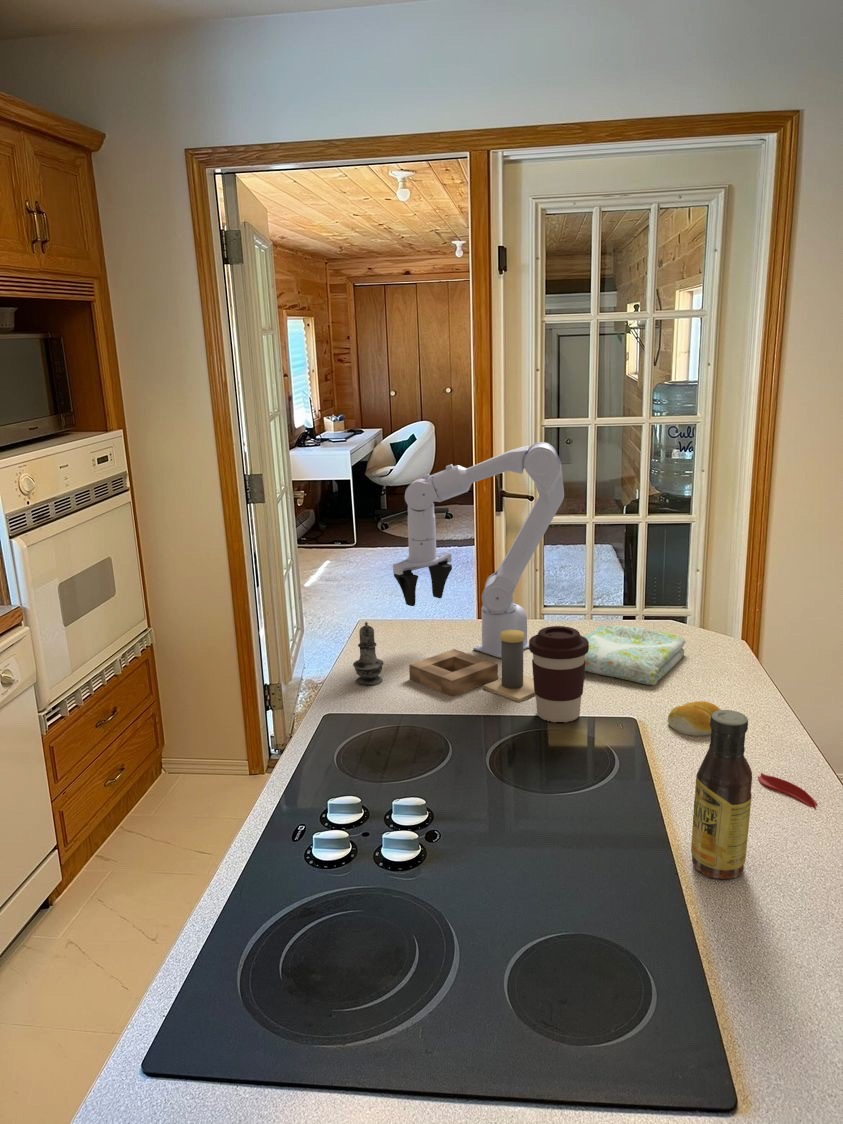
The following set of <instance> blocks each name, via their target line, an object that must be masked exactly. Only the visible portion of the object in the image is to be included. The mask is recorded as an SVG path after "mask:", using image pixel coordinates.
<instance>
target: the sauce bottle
mask: <svg viewBox="0 0 843 1124" xmlns="http://www.w3.org/2000/svg"><path fill="white" fill-rule="evenodd" d="M710 727H711V734H710V739H709V740H710V742H709V746H708V748H707V749H708V750H707V752H706V754H705V756H704V758H703V760H702V762H701V765H700V766H699V769H698V770H697V773H696V777H695V785H694V786H695V788H694V789H695V791H694V801H693V814H692V830H691V834H692V835H691V843H690V846H691V847H690V851H691V852H690V853H691V858H692V859H691V862H692V865H693V867H694V868H695V869H696V870H697V871H699V872H700V873H701V874H703V875H704V876H706V877H707V878H710V879H719V880H731V879H735V878H737V877H739V876H740V875H742V873H743V871H744V869H745V867H744V866H745V863H746V859H747V850H748V849H747V848H748V840H749V826H750V817H751V816H750V815H751V807H752V805H751V804H752V783H753V772H752V768H751V766H750V764H749V762H748V760H747V758H746V756H745V751H746V747H745V743H746V742H745V741H746V740H745V739H746V733H747V732H748V730H749V719H748V717H747V716H746V715H745V714H743V713H742V712H740V711H737V710H736V711H735V710H731V709H721V710H718V711H715V712H714V713H713V714H712V715H711V719H710Z"/></svg>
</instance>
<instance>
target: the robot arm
mask: <svg viewBox="0 0 843 1124" xmlns="http://www.w3.org/2000/svg"><path fill="white" fill-rule="evenodd" d="M524 469H525V471H526V473H527V474H528V476H529V477H530V478H531V480H532V481H533V482H534V484H535V487H536V491H537V493H538V497H537V499H536V501H535V503H534V504H533V506H532V508H531V509H530V511H529V513H528V516H526V519H525V521H524V522H523V524H522V526H521V528H520V530H519V532H517V533H518V534H517V535H516V537H515V538H514V541H513V542H512V544H511V546H510V548H509V550H508V551H507V554H506V555H505V557H504V559H503V560H502V562H501V563H500V564H499V566H498V568H497V570H496V571H494V573H492V574H491V575H489V576H488V577H487V579H486V581H485V582H484V583H485V584H484V589H483V591H482V593H481V602H482V605H481V644H478V645H475V646H473V650H475V651H478V652H479V653H480V652H481V653H484V654H487V655H491V656H492V657H496V658H501V659H502V653H501V639H500V633H501V632H502V631H505V630H519V631H522V632H524V640H523V650H526V649H529V643H528V617H527V613H526V610H525V609H524V608H523V607H522V606H521V605H519V604H517V603H515V602H514V592H515V591H516V590H515V589H516V588H517V586H518V584H519V581H520V579H521V576H522V575H523V572H524V570H525V569H526V567H527V565H528V563H529V562H530V560H531V559H532V557H533V555H534V553H535V551H536V549H537V547H538V546H539V544H540V542H541V540H542V539H543V538H544V535H545V533H546V532H547V529H548V528H549V526H550V524H551V523H552V521H553V520H554V518H555V517H556V516H555V515H556V514H557V512H558V510H559V508H560V507H561V505H562V503H563V501H564V498H565V490H564V488H565V487H564V481H563V480H564V479H563V469H562V462H561V459H560V457H559V455H558V452H557V451H556V448H555V447H553V445H552V444H550V443H548V442H544V441H539V442H535V443H533V444H532V445H530V447H529V445H524V446H521V447H517V448H514V449H511V450H508V451H505V452H503V453H501V454H499V455H496V456H494V457H490V458H488V459H486V460H484V461H482V462H479V463H476V464H475V465H472V466H470V467H464V466H462V465H459V464H457V465H453V463H451V464H448V465H446V466H445V469H443V470H441V471H438V472H435V473H433V474H430V473H427V474H424V476H423V477H424V478H417V479H416V480H414V481H412V483H410V484H409V485H408V486H407V487H406V489H405V493H404V501H405V503H406V506H407V536H408V537H407V542H408V543H407V544H408V556H407V558H406V559H404V560H402V561H399V562H397V563H393V564H392V569H393V570H392V572H393V573H392V574H393V577H394V578H395V580H396V582H397V583H398V585H399V587H400V589H401V592H402V594H403V599H404V602H405V605H406V606H409V607H415V605H416V596H417V595H416V593H417V592H416V590H417V589H416V588H417V584H418V579H419V575H418V574H414V572H413V571H416V570H420V569H424V568H428V571H429V574H430V579H431V593H432V596H433V598H436V599H442V598H443V594H444V590H445V585H446V584H447V583H446V582H447V579H448V577H449V575H450V573H451V572H452V569H453V566H452V564H450V563H452V552H448V551H444V552H443V551H442V552H437V536H436V535H437V533H436V531H437V530H436V529H437V528H436V514H435V503H434V502H438V503H441V502H443V501H447V500H449V499H451V498H454V497H457V496H460V495H462V494H464V493H468V492H469V490H470V489H471V487H472V484H473V483H476V482H479V481H482V480H485V479H488V478H491V477H495V476H496V475H497V476H498V475H500V474H502V473H505V472H512V473H517V474H520V475H522V474H524Z"/></svg>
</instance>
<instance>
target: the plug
mask: <svg viewBox="0 0 843 1124" xmlns="http://www.w3.org/2000/svg"><path fill="white" fill-rule="evenodd" d="M500 639H501V653H502V657H501V678H502V686H503V687H505V688H509V689H517V688H521V687H522V686H523V675H524V649H523V640H524V632H522V631H519V630H505V631H502V632H501V633H500Z"/></svg>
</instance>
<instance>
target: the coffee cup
mask: <svg viewBox="0 0 843 1124" xmlns="http://www.w3.org/2000/svg"><path fill="white" fill-rule="evenodd" d="M528 644H529V648H528V651H529V652H530V653H531V654H532V661H531V664H532V665H531V666H532V678H533V681H534V692H535V694H536V695H535V702H536V703H535V705H536V713H537V716H538V717H539V718H540V719H542V720H544V721H546V720H547V722H549V721H551V723H556V722H564V723H569V721H570V722H573V721H575V720H577V719H578V718H579V717H580V714H581V706H582V695H583V693H584V687H585V686H584V684H585V683H584V682H585V675H586V674H585V672H586V671H585V660H584V659H585V654H586V653H588V651H589V641H588V640H587V639H586V638H585V637H584V636H583V635H581V633H580V631H578V629H576V628H574V627H570V626H564V625H563V626H562V625H561V626H560V625H555V626H552V625H551V626H547V627H543V628H541V629H540V630H538V632H537V634H535V635H533V636H531V637H530V638H529V641H528Z"/></svg>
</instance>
